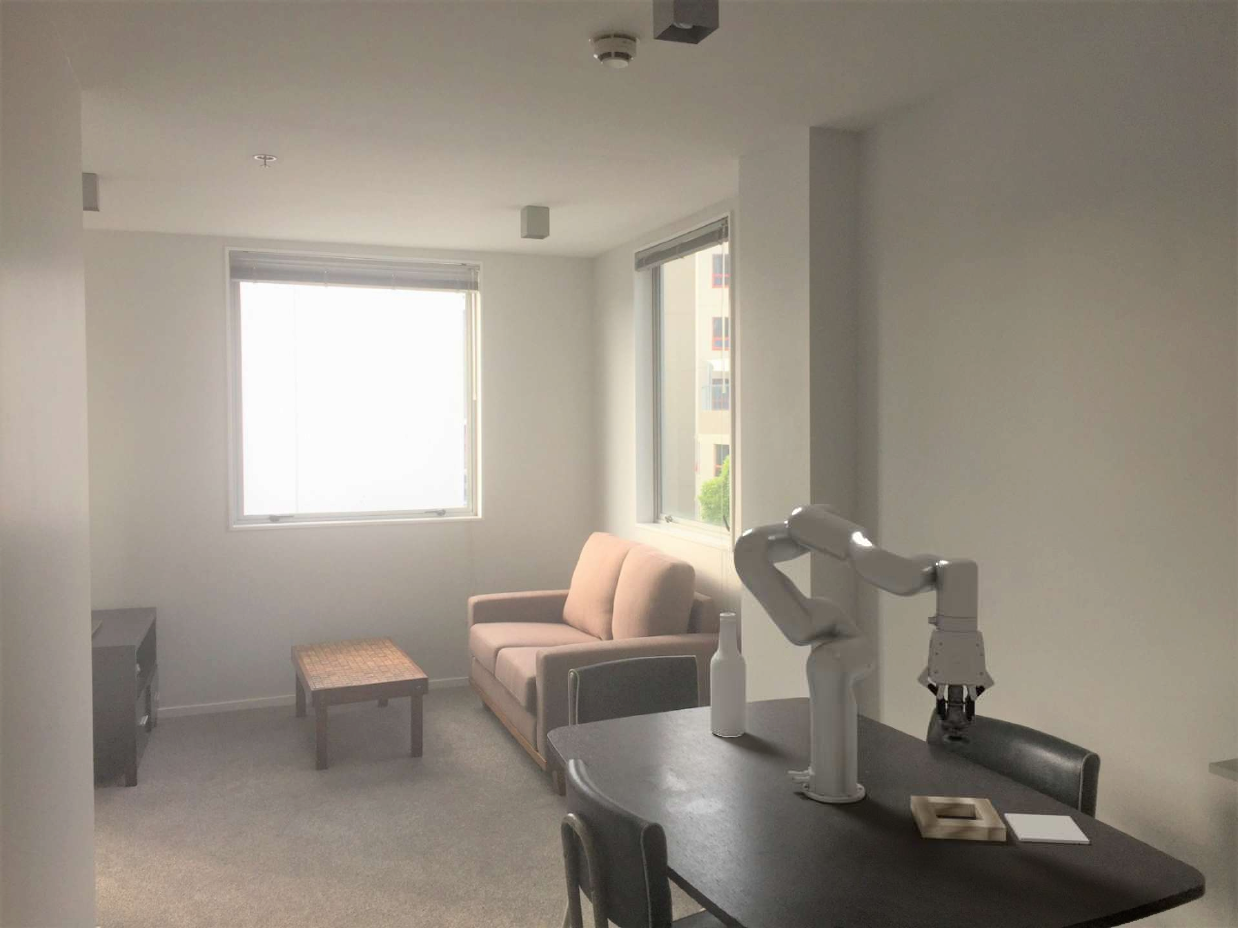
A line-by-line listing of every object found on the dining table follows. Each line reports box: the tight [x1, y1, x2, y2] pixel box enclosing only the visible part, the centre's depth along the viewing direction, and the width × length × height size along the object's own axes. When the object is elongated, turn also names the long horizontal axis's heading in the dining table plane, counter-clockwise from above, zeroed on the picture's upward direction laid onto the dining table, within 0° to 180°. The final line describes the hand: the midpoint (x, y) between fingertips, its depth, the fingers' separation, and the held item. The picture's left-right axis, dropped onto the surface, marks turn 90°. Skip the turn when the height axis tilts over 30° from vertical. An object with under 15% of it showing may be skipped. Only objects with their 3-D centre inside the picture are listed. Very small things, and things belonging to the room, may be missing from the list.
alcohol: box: [709, 612, 747, 736], centre depth 253 cm, size 9×9×30 cm
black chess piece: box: [938, 685, 972, 746], centre depth 193 cm, size 6×6×12 cm
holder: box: [910, 795, 1007, 842], centre depth 194 cm, size 15×15×2 cm
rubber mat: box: [1004, 813, 1090, 845], centre depth 191 cm, size 12×12×1 cm
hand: (955, 717), depth 193 cm, fingers closed on black chess piece, 4 cm apart
